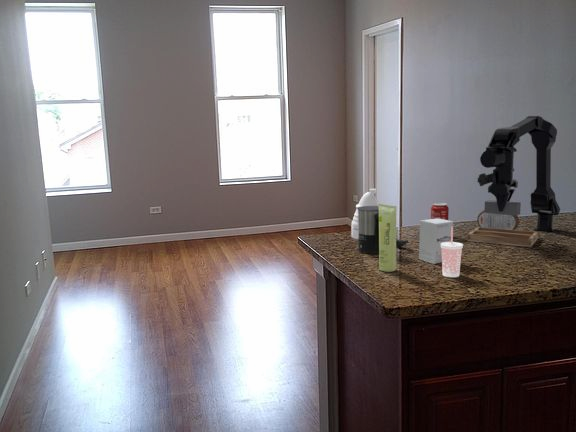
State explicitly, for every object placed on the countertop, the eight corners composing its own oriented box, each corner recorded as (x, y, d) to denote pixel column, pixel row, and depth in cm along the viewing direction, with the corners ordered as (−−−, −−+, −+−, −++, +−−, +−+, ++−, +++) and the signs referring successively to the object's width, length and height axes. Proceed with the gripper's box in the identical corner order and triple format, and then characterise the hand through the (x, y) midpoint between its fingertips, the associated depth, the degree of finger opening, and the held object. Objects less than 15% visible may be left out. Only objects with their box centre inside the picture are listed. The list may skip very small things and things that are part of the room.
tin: (518, 232, 219) (519, 210, 218) (517, 234, 217) (518, 211, 215) (478, 229, 227) (478, 207, 226) (475, 230, 225) (476, 209, 223)
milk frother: (351, 251, 197) (351, 207, 194) (378, 243, 208) (378, 201, 205) (387, 257, 187) (387, 212, 184) (413, 248, 198) (414, 205, 195)
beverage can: (446, 234, 219) (447, 202, 217) (449, 237, 213) (450, 205, 211) (429, 234, 220) (429, 202, 218) (431, 237, 214) (432, 205, 212)
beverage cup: (449, 279, 162) (450, 229, 160) (435, 273, 168) (436, 225, 165) (466, 276, 164) (468, 227, 162) (452, 271, 170) (453, 223, 167)
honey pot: (392, 235, 219) (393, 188, 216) (372, 241, 210) (373, 192, 207) (364, 231, 228) (364, 185, 225) (344, 237, 219) (344, 189, 215)
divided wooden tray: (477, 233, 219) (477, 226, 219) (537, 238, 208) (538, 231, 208) (467, 240, 207) (467, 234, 207) (530, 247, 196) (530, 239, 196)
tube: (376, 271, 171) (376, 205, 168) (378, 267, 176) (378, 203, 172) (395, 272, 170) (396, 206, 166) (397, 268, 174) (398, 203, 171)
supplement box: (434, 264, 177) (435, 223, 175) (418, 259, 184) (419, 219, 182) (452, 261, 181) (454, 221, 179) (436, 256, 187) (437, 217, 185)
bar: (520, 214, 201) (520, 202, 201) (516, 215, 198) (516, 204, 198) (488, 211, 208) (488, 200, 207) (484, 212, 205) (484, 201, 204)
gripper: (486, 162, 212) (484, 205, 215) (473, 167, 197) (471, 213, 199) (519, 163, 206) (516, 207, 209) (508, 168, 191) (505, 215, 194)
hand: (502, 210), depth 203 cm, fingers closed on bar, 4 cm apart
